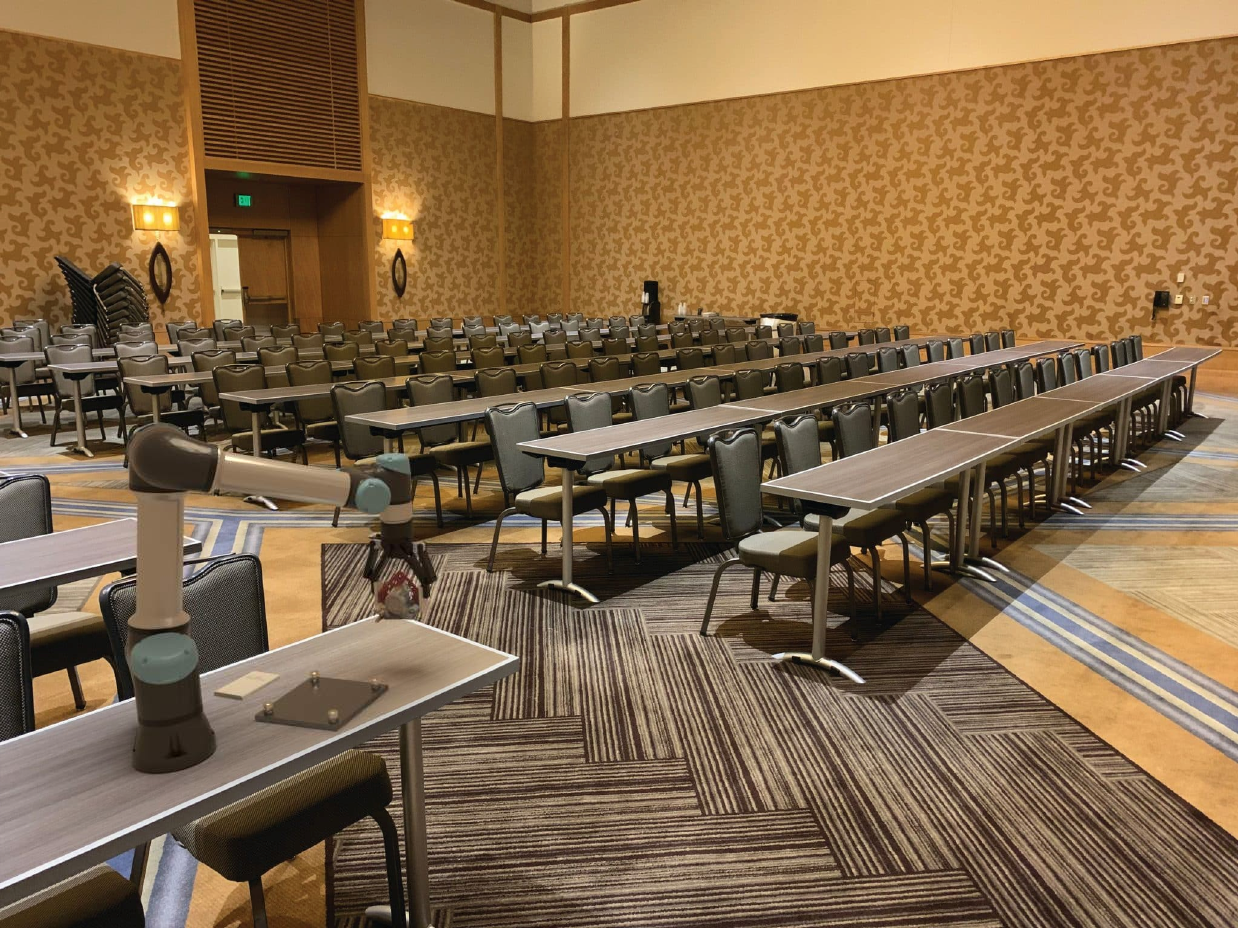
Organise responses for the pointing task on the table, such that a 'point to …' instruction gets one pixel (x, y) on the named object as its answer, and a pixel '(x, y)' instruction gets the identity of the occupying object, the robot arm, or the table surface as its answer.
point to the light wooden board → (247, 685)
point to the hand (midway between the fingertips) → (401, 608)
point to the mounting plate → (322, 702)
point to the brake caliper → (398, 599)
